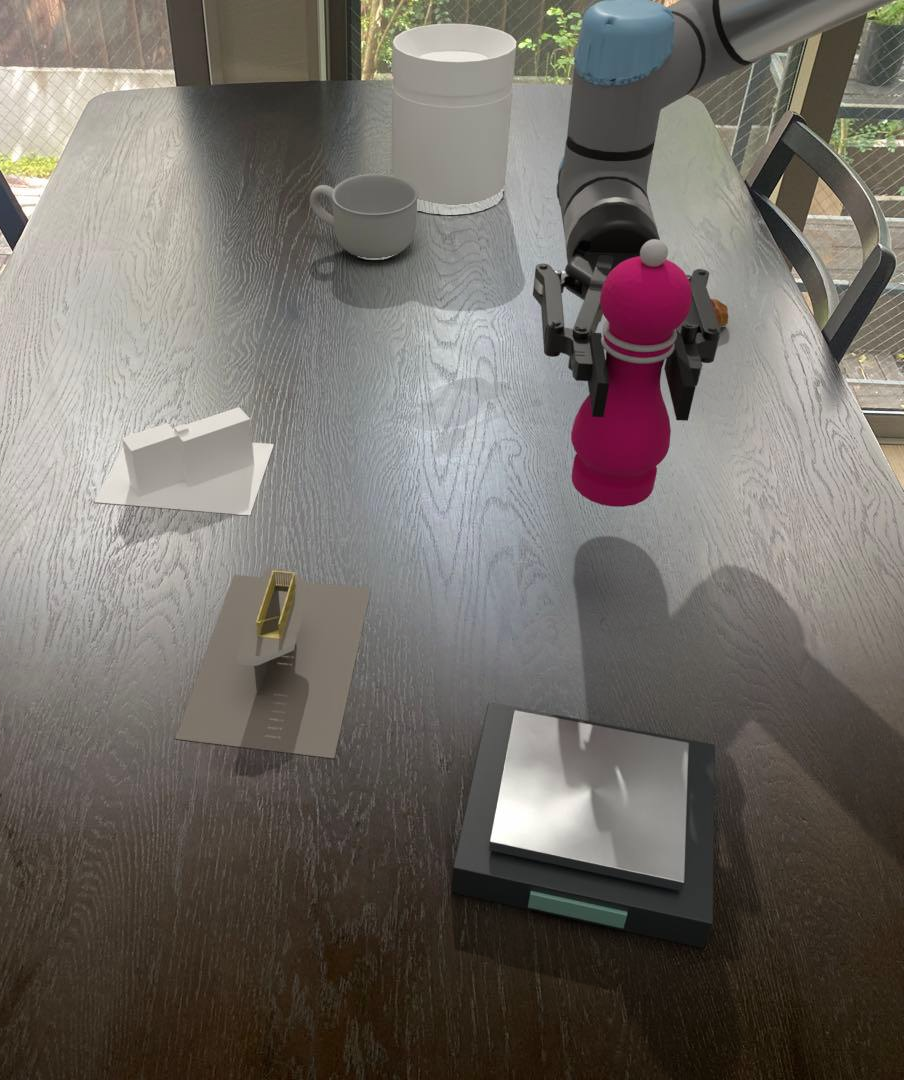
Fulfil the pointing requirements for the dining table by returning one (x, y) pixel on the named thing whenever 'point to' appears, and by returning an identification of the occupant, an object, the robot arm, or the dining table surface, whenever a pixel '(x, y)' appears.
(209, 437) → the white flat upright-walled piece
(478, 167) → the canister
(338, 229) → the teacup
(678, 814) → the pan
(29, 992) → the dining table surface
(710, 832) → the scale
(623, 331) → the pepper mill
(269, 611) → the platform
